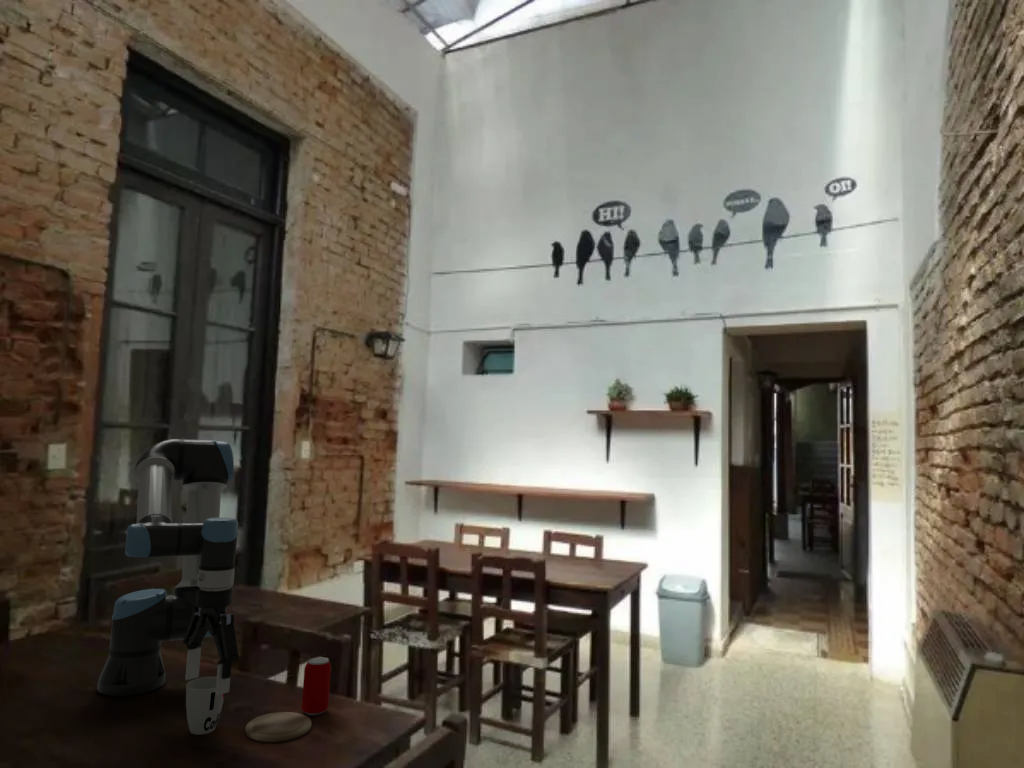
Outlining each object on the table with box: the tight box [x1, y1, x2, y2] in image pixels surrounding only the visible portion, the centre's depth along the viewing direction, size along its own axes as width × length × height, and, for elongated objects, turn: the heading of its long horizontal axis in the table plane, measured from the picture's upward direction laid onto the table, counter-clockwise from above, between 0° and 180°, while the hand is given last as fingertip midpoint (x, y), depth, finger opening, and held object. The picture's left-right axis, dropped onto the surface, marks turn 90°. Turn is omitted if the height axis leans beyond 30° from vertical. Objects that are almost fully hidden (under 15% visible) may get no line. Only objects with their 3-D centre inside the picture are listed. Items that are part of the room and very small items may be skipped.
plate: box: [244, 711, 312, 743], centre depth 148 cm, size 14×14×1 cm
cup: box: [185, 676, 226, 736], centre depth 146 cm, size 8×8×10 cm
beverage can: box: [301, 657, 332, 716], centre depth 158 cm, size 6×6×12 cm
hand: (206, 685), depth 146 cm, fingers open, 13 cm apart
